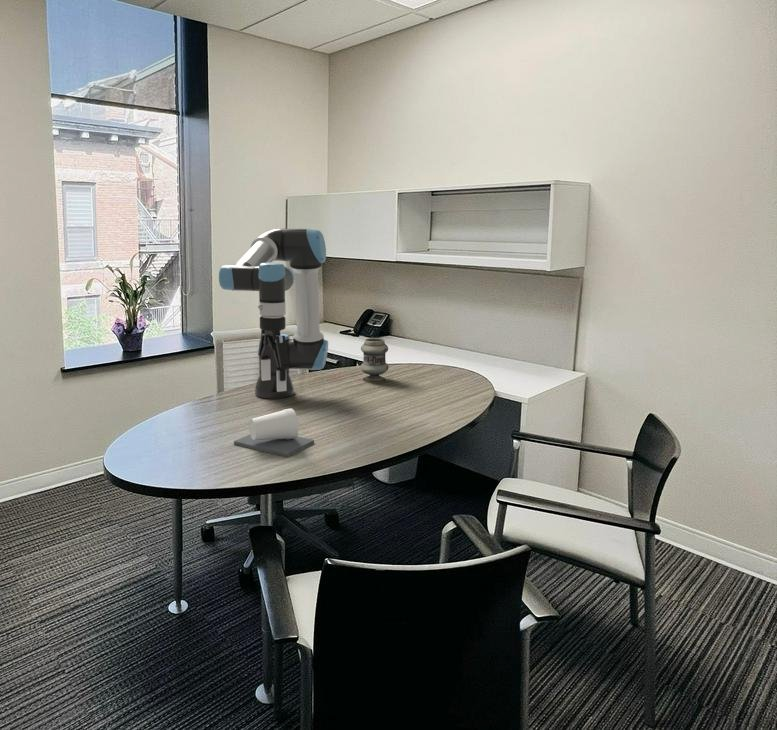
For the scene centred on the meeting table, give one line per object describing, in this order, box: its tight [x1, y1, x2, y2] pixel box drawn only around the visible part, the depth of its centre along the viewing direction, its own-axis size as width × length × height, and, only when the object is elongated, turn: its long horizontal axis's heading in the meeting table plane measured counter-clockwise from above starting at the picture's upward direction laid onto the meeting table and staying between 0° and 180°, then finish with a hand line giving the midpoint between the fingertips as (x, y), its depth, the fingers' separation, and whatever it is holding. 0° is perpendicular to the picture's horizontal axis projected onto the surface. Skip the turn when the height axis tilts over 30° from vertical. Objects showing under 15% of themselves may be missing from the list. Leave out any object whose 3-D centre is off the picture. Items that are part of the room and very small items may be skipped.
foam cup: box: [248, 407, 299, 440], centre depth 196 cm, size 10×9×13 cm
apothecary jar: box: [360, 337, 389, 384], centre depth 276 cm, size 12×12×18 cm
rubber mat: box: [233, 434, 315, 458], centre depth 198 cm, size 20×14×1 cm
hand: (273, 385), depth 194 cm, fingers open, 13 cm apart
